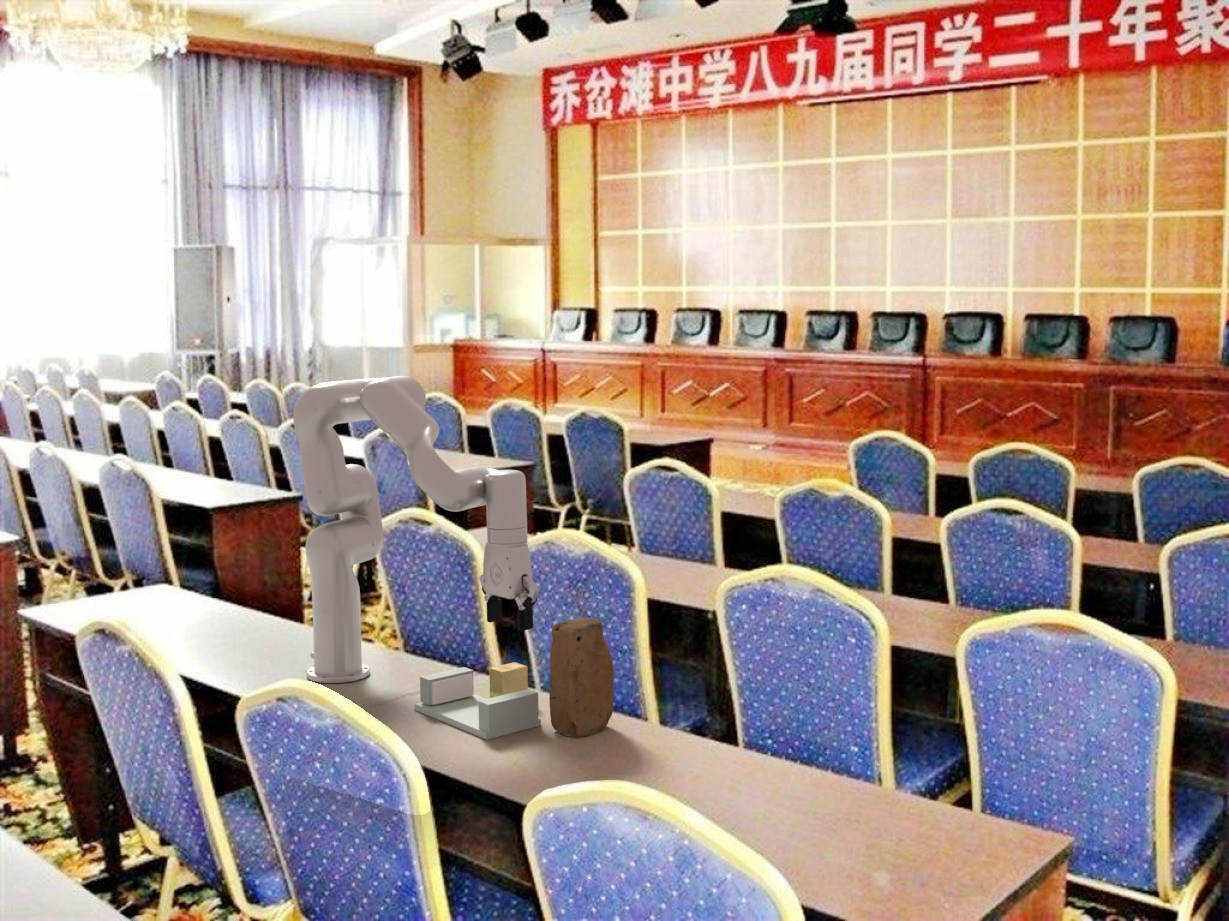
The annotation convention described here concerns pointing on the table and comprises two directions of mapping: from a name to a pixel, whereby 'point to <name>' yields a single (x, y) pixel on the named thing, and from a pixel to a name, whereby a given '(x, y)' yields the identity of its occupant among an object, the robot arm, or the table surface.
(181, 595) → the table surface
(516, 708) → the vise body
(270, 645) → the table surface
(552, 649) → the block
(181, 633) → the table surface
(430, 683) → the sliding jaw
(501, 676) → the tan rectangular workpiece
